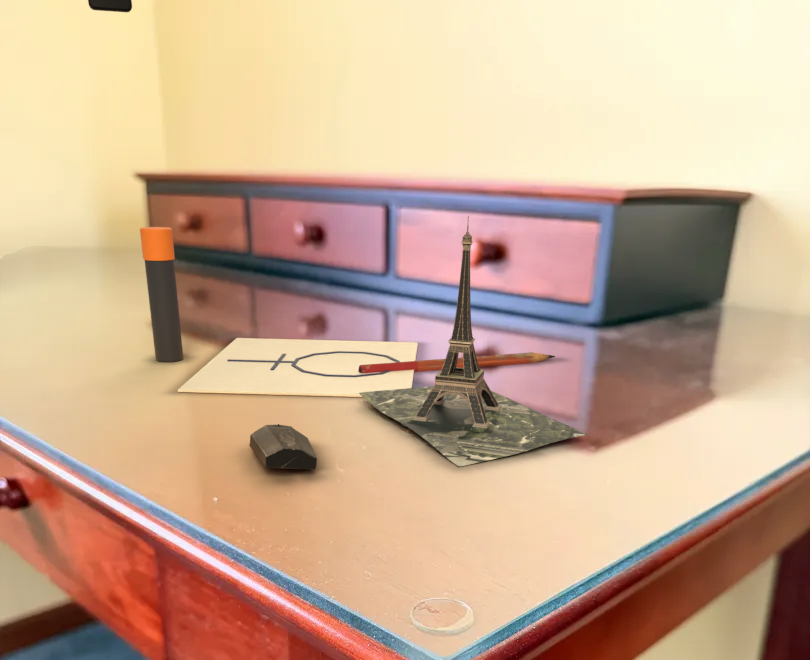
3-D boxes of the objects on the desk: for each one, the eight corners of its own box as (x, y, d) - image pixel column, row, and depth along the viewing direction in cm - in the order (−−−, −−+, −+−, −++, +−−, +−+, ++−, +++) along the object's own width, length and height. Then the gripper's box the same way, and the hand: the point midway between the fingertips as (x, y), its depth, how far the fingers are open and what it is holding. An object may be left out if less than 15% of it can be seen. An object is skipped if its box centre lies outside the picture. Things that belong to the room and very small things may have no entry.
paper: (177, 392, 63) (177, 388, 63) (236, 339, 81) (236, 336, 81) (410, 398, 63) (410, 394, 63) (417, 344, 81) (417, 341, 81)
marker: (150, 361, 72) (135, 229, 68) (159, 355, 75) (145, 226, 70) (179, 362, 72) (166, 229, 67) (188, 356, 74) (175, 227, 70)
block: (263, 481, 46) (262, 451, 45) (247, 448, 51) (246, 420, 51) (326, 475, 47) (325, 445, 47) (304, 443, 52) (303, 416, 52)
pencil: (361, 378, 69) (360, 366, 68) (357, 375, 70) (356, 363, 69) (557, 362, 75) (558, 352, 75) (551, 360, 76) (552, 349, 76)
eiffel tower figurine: (591, 444, 53) (619, 225, 48) (458, 467, 49) (471, 229, 43) (469, 387, 65) (480, 206, 59) (353, 401, 61) (352, 208, 55)
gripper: (19, -267, 59) (59, 14, 66) (7, -406, 44) (60, -25, 51) (128, -249, 61) (155, 20, 68) (151, -374, 47) (182, -16, 54)
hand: (114, 0), depth 60 cm, fingers open, 9 cm apart
